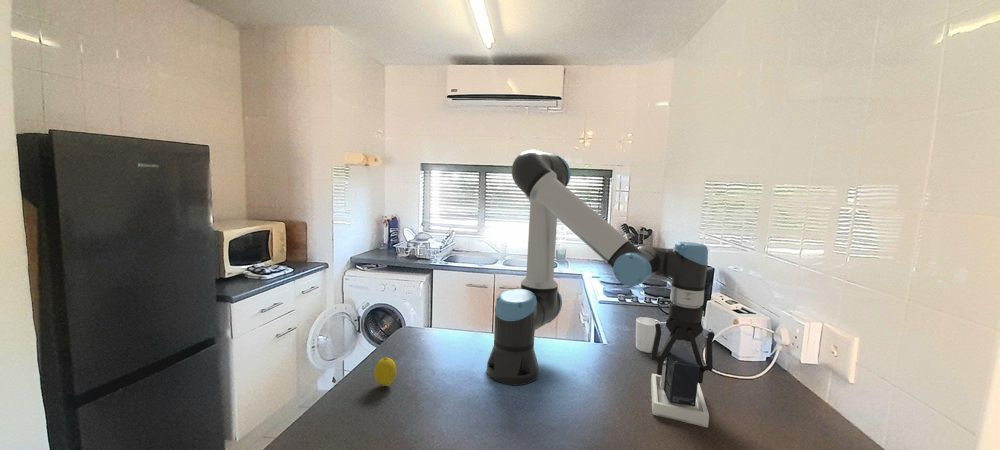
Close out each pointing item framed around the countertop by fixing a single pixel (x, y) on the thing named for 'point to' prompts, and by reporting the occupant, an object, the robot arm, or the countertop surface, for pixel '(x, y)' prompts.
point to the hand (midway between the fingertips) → (677, 390)
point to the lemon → (385, 371)
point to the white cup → (645, 333)
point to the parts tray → (678, 406)
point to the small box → (681, 377)
